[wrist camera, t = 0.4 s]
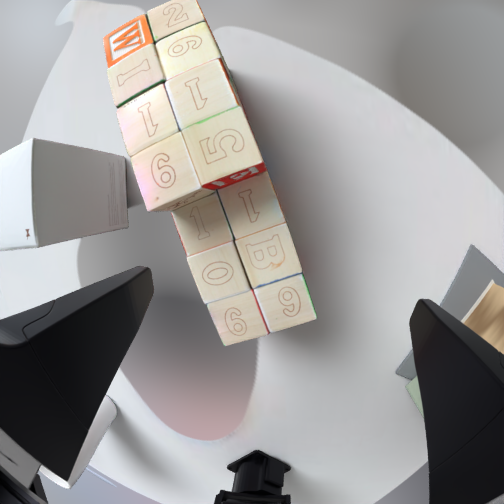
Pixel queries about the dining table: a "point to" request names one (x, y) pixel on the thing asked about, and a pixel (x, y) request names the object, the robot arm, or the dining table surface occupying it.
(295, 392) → the dining table surface
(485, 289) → the board
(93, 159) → the supplement box
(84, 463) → the drinking glass
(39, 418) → the robot arm
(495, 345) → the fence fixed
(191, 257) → the stack of blocks
